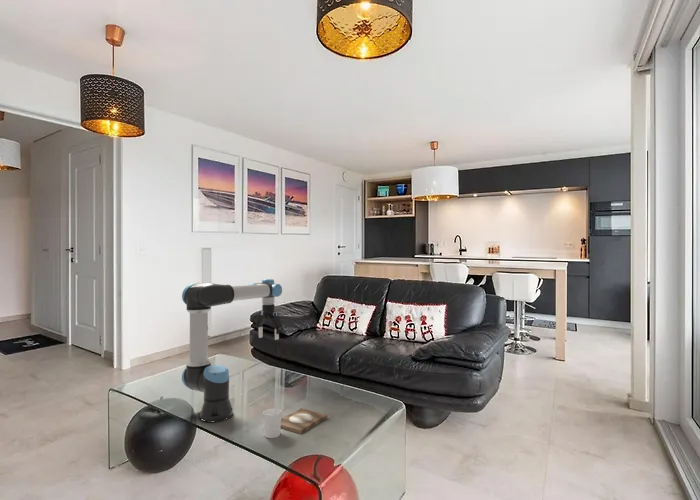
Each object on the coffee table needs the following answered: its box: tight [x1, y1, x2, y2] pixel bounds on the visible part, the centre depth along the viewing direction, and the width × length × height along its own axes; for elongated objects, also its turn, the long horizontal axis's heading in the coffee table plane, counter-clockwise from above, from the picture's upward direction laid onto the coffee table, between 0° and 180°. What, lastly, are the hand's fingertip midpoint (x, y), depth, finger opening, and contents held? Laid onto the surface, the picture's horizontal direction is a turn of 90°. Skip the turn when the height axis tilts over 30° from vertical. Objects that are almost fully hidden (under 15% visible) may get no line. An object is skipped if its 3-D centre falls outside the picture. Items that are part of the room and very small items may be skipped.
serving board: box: [280, 407, 328, 435], centre depth 178 cm, size 20×16×2 cm
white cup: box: [262, 407, 282, 439], centre depth 165 cm, size 8×8×10 cm
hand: (268, 338), depth 236 cm, fingers open, 13 cm apart
